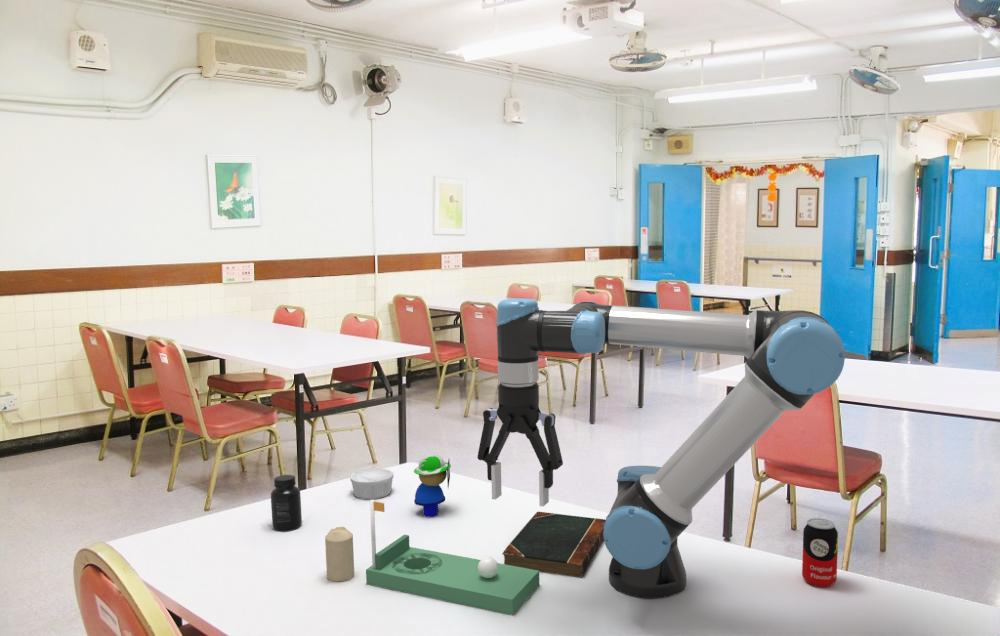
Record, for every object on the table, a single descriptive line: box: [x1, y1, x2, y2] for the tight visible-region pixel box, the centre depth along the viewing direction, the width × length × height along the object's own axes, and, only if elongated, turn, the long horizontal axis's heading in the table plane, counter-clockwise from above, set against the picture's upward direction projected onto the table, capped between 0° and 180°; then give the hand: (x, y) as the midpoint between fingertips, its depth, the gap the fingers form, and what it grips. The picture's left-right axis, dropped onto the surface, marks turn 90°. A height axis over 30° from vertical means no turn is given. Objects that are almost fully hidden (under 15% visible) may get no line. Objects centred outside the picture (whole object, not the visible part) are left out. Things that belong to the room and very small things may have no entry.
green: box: [365, 499, 540, 616], centre depth 158 cm, size 32×13×17 cm, turn 65°
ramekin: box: [349, 468, 394, 500], centre depth 212 cm, size 11×11×5 cm
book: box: [501, 511, 606, 579], centre depth 175 cm, size 17×4×25 cm
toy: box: [413, 453, 452, 518], centre depth 197 cm, size 9×9×15 cm
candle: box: [324, 526, 355, 583], centre depth 163 cm, size 6×6×10 cm
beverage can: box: [801, 517, 839, 588], centre depth 157 cm, size 6×6×12 cm
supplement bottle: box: [270, 474, 303, 532], centre depth 190 cm, size 7×7×12 cm
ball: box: [478, 556, 499, 578], centre depth 155 cm, size 4×4×4 cm
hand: (520, 500), depth 150 cm, fingers open, 9 cm apart
